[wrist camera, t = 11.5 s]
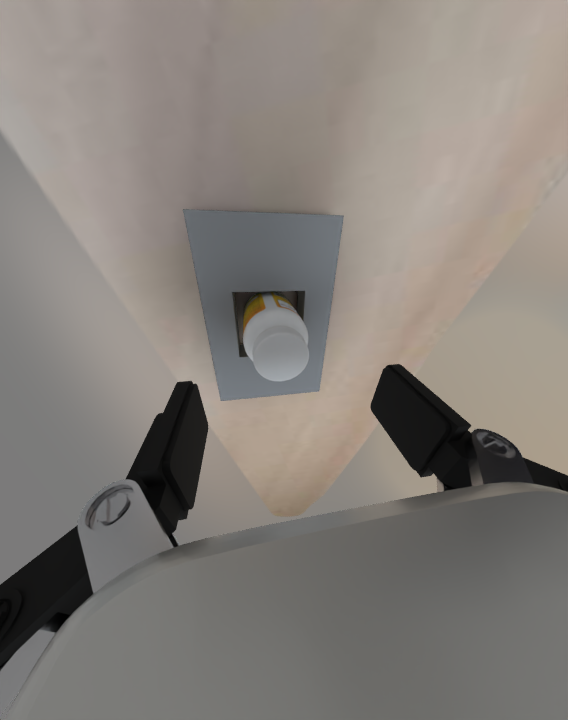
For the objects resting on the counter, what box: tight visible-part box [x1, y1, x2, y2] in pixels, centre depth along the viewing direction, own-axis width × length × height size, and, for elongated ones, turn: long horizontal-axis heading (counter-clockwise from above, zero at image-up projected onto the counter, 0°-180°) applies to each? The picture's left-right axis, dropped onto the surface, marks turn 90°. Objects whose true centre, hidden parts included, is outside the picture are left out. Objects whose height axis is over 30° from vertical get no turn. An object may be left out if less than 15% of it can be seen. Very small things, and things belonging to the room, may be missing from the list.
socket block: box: [183, 209, 344, 401], centre depth 21 cm, size 18×12×3 cm, turn 179°
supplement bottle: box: [243, 291, 309, 381], centre depth 18 cm, size 5×5×10 cm
